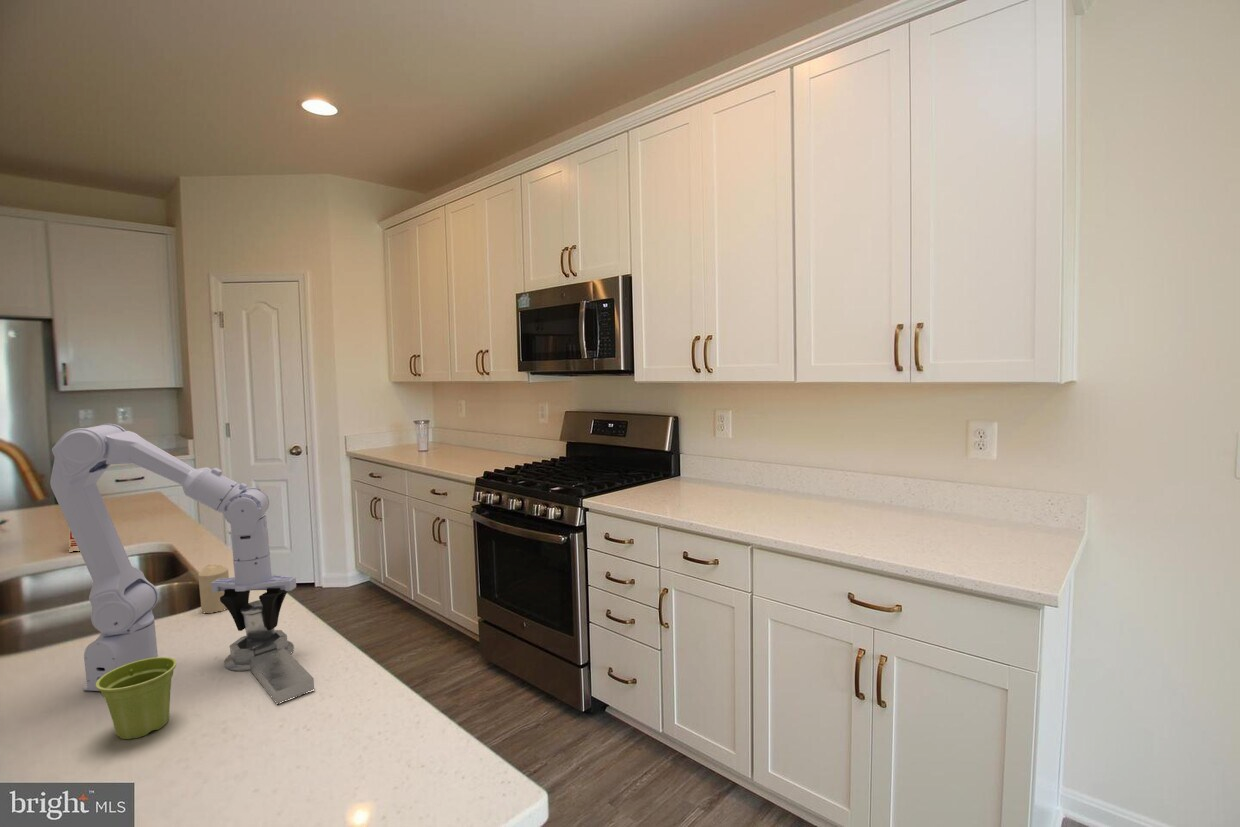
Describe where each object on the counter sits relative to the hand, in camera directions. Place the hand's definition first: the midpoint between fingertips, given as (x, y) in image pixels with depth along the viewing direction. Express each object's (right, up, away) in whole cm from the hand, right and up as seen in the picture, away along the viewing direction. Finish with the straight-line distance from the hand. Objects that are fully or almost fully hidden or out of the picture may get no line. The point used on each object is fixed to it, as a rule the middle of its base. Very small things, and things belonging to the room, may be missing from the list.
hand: (257, 628), depth 111 cm
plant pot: (-4, -8, -21) cm, 23 cm away
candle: (-23, -4, +23) cm, 33 cm away
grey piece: (+5, -6, -5) cm, 9 cm away
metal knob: (0, -2, +1) cm, 2 cm away
